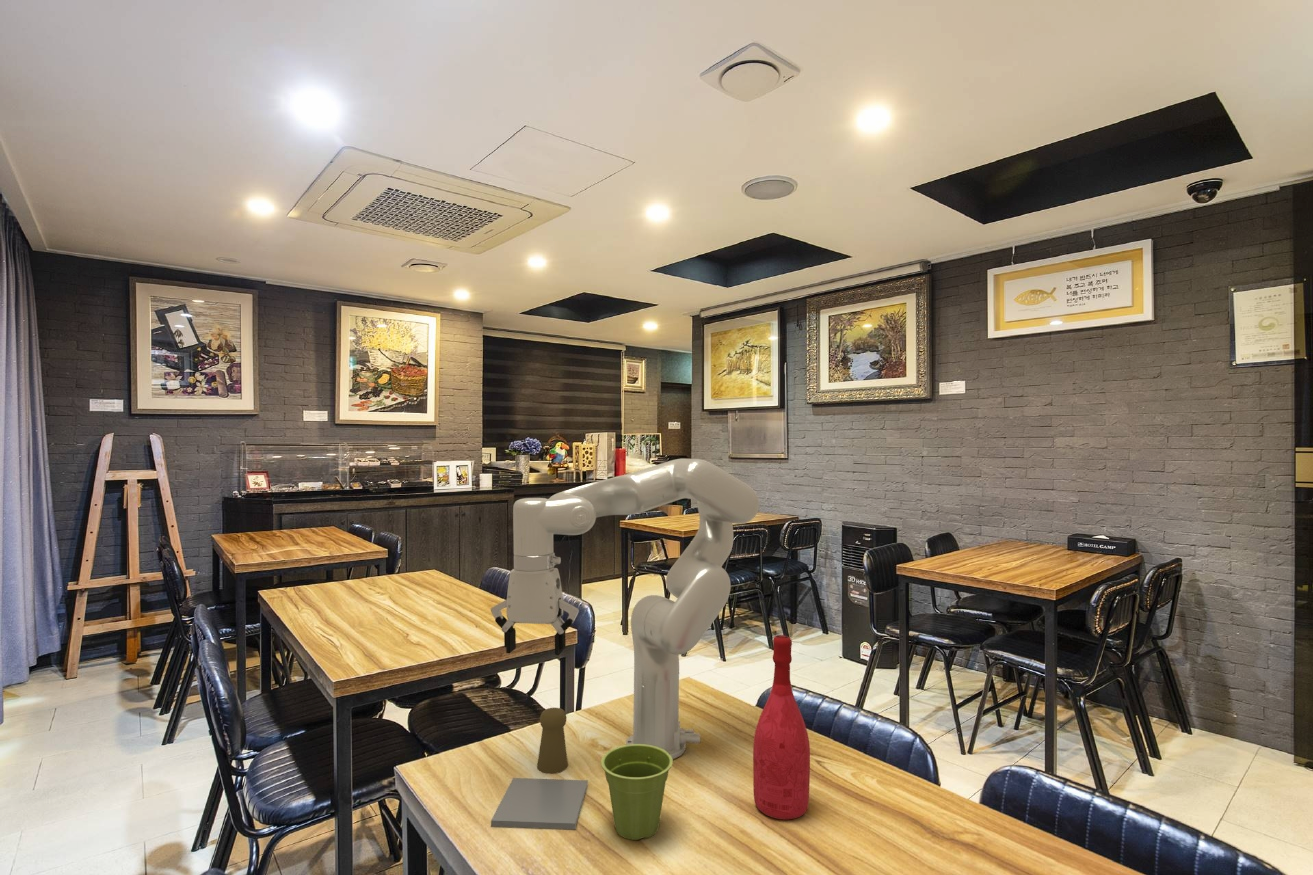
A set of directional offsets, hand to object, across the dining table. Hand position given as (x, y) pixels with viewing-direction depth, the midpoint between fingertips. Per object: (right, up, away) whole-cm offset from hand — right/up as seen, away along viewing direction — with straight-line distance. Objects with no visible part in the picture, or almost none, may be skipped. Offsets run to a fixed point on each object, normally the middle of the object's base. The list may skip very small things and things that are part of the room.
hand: (535, 651), depth 124 cm
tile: (+3, -24, -10) cm, 26 cm away
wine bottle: (+45, -24, -10) cm, 52 cm away
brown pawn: (+3, -24, +4) cm, 24 cm away
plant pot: (+20, -24, -17) cm, 35 cm away
